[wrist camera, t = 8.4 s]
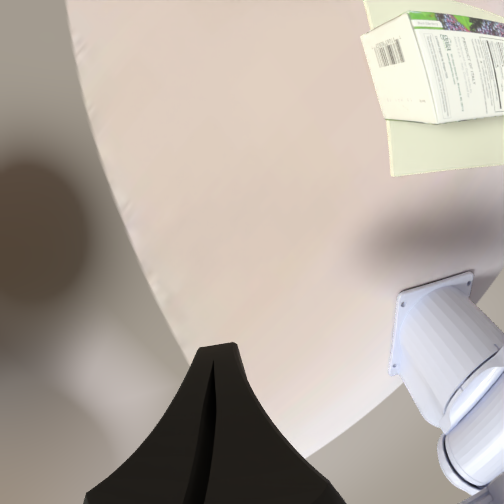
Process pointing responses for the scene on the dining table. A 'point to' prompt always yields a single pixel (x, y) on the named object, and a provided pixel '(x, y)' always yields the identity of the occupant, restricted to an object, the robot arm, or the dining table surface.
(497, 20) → the mat
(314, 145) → the dining table surface
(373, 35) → the syrup box
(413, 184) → the dining table surface
